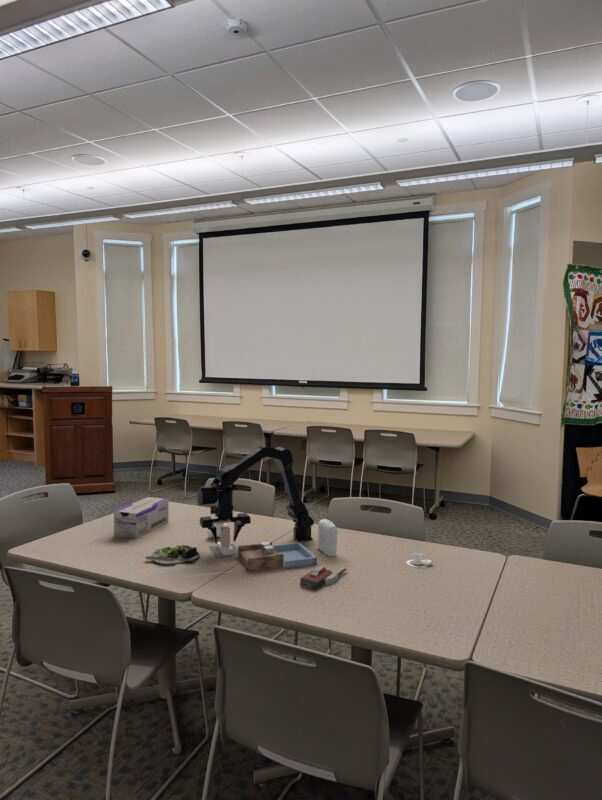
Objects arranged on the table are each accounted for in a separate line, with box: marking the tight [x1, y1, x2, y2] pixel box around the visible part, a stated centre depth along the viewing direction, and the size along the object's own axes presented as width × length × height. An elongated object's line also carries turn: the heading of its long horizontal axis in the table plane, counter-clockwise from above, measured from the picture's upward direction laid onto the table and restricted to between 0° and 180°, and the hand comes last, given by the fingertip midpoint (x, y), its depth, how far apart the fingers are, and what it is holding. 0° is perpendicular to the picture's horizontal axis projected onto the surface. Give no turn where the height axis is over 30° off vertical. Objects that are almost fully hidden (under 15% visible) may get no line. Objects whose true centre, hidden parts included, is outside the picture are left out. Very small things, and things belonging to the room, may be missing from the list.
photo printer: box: [317, 518, 338, 557], centre depth 212 cm, size 10×4×12 cm, turn 23°
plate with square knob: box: [216, 526, 233, 556], centre depth 211 cm, size 4×10×9 cm, turn 21°
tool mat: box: [208, 543, 238, 559], centre depth 211 cm, size 10×13×1 cm
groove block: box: [237, 542, 284, 572], centre depth 200 cm, size 13×14×4 cm
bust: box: [206, 515, 230, 539], centre depth 229 cm, size 12×8×11 cm
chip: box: [259, 541, 270, 553], centre depth 203 cm, size 3×3×3 cm
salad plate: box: [145, 544, 201, 566], centre depth 203 cm, size 19×18×5 cm
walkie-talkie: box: [299, 565, 347, 591], centre depth 185 cm, size 9×4×20 cm
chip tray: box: [272, 541, 318, 569], centre depth 205 cm, size 12×18×3 cm, turn 21°
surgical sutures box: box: [113, 496, 169, 540], centre depth 238 cm, size 25×11×11 cm, turn 163°
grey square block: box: [264, 544, 274, 556], centre depth 199 cm, size 3×3×3 cm
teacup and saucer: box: [405, 551, 433, 568], centre depth 201 cm, size 9×8×4 cm
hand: (225, 542), depth 211 cm, fingers open, 7 cm apart
